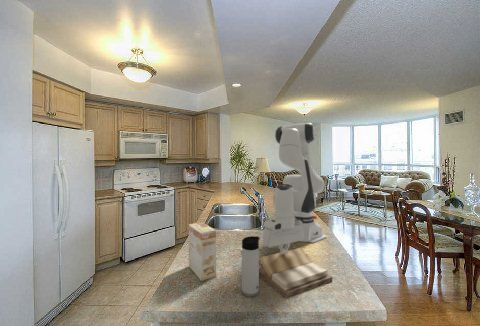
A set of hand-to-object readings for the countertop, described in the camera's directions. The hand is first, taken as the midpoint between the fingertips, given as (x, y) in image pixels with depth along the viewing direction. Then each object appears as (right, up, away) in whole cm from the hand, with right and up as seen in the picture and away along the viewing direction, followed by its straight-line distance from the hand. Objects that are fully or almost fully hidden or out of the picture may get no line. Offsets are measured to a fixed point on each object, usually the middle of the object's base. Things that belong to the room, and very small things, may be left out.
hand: (283, 253), depth 99 cm
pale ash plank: (+5, -6, -8) cm, 12 cm away
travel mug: (-15, -8, -15) cm, 23 cm away
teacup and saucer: (-17, -8, +21) cm, 28 cm away
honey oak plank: (+1, -4, -1) cm, 4 cm away
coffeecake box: (-36, -8, 0) cm, 37 cm away
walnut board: (+3, -8, -5) cm, 9 cm away
